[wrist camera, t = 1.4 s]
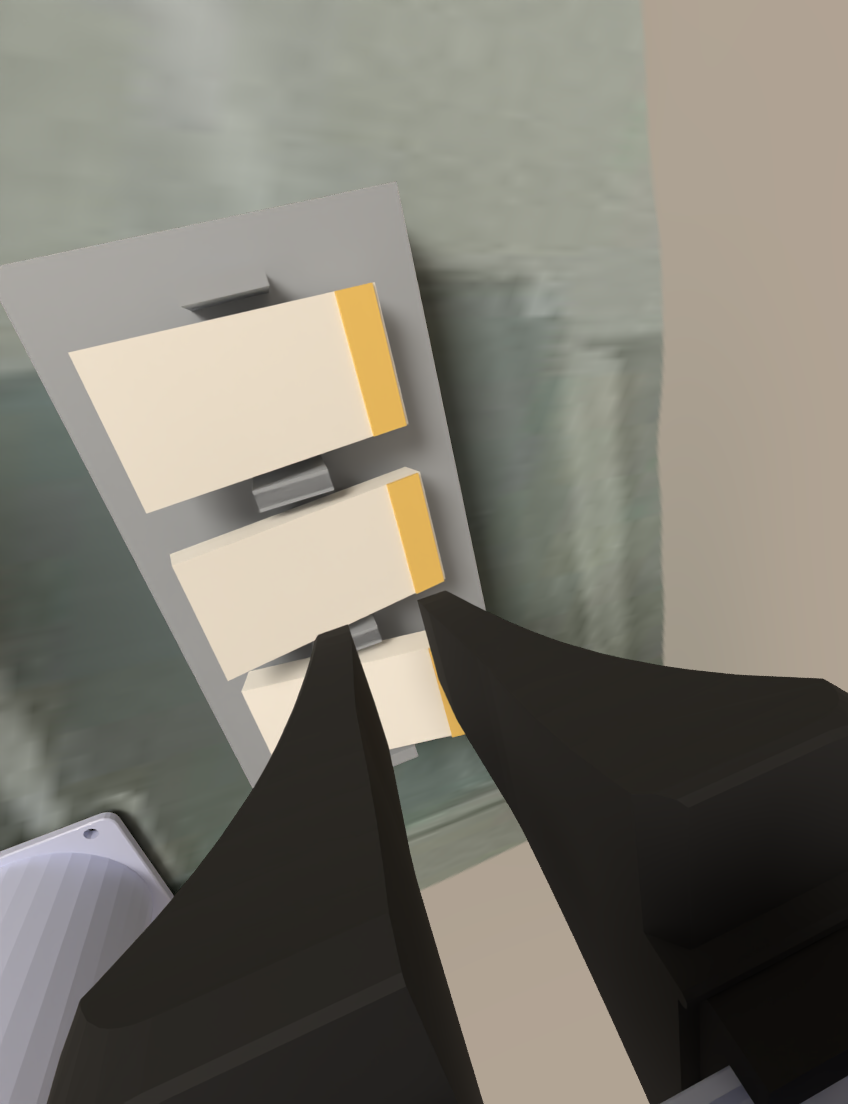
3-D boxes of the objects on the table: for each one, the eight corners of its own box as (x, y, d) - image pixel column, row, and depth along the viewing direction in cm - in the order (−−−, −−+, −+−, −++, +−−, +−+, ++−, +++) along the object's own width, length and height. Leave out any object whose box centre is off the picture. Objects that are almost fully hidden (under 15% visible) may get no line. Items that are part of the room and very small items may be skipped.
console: (260, 748, 22) (260, 850, 18) (34, 281, 15) (-66, 256, 10) (481, 665, 24) (531, 739, 19) (378, 206, 16) (421, 155, 12)
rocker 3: (285, 751, 19) (280, 776, 18) (248, 671, 17) (240, 693, 16) (479, 707, 18) (484, 730, 17) (458, 622, 17) (464, 641, 16)
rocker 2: (222, 664, 15) (228, 682, 14) (169, 554, 14) (172, 567, 13) (430, 568, 18) (447, 579, 17) (405, 466, 16) (421, 472, 15)
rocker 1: (145, 504, 13) (146, 514, 12) (72, 354, 12) (67, 352, 11) (393, 421, 15) (409, 424, 15) (360, 287, 14) (375, 281, 13)
